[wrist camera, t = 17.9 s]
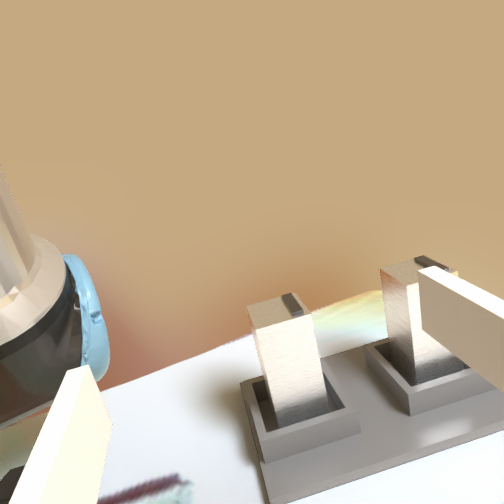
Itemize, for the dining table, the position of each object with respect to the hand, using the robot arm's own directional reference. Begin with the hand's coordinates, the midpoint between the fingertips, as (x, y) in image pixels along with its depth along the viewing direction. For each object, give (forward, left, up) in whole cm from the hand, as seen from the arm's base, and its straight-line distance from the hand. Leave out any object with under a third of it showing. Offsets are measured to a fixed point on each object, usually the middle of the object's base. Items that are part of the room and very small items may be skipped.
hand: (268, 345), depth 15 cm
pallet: (+10, +19, -21) cm, 30 cm away
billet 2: (+17, +19, -20) cm, 33 cm away
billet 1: (+3, +19, -20) cm, 28 cm away
